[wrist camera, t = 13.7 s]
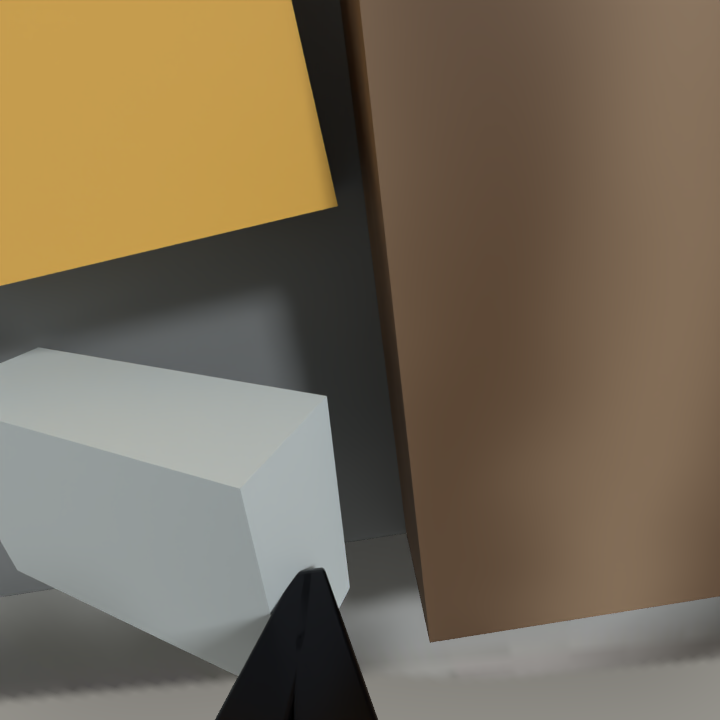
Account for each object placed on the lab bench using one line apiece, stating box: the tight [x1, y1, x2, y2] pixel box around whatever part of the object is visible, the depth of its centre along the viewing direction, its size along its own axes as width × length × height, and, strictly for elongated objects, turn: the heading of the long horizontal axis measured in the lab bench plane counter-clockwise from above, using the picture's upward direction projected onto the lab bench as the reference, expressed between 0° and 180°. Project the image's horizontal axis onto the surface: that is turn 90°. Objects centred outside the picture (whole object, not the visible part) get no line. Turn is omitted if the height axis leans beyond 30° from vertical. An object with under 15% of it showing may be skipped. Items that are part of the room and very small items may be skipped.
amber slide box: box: [0, 0, 338, 286], centre depth 8 cm, size 8×5×2 cm, turn 102°
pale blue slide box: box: [0, 347, 350, 676], centre depth 10 cm, size 8×5×2 cm, turn 94°
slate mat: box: [0, 0, 406, 597], centre depth 11 cm, size 14×18×1 cm
